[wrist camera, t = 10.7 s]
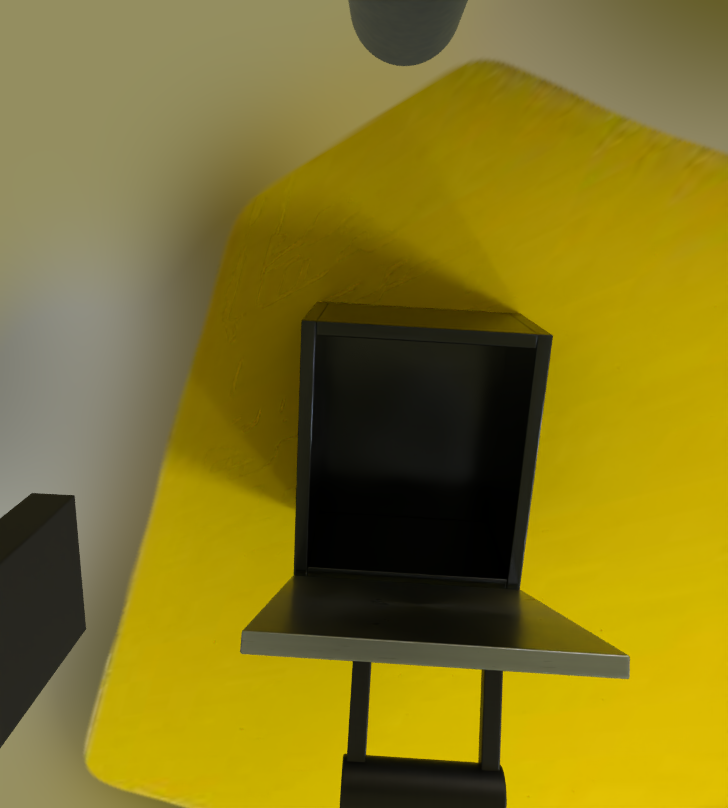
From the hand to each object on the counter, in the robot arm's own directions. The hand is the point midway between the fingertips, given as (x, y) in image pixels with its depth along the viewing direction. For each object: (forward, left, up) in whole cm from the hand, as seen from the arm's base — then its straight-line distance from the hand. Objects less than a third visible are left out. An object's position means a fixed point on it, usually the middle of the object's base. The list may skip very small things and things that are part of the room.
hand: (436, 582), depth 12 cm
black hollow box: (+3, +7, -34) cm, 35 cm away
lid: (+5, +10, -17) cm, 21 cm away
